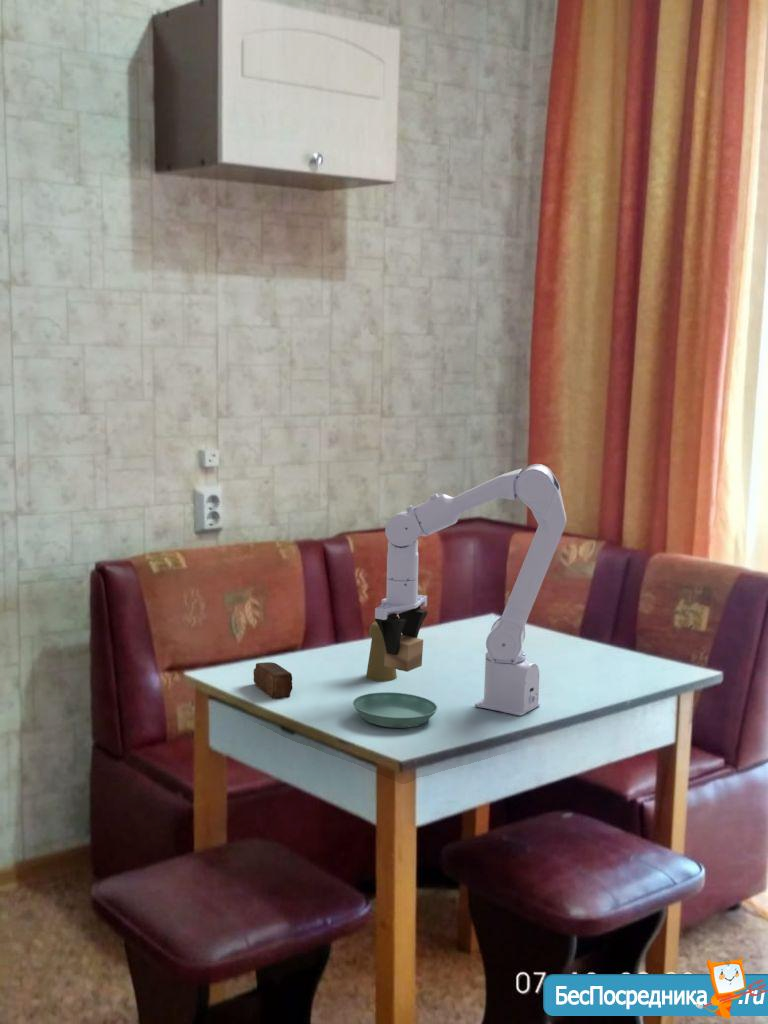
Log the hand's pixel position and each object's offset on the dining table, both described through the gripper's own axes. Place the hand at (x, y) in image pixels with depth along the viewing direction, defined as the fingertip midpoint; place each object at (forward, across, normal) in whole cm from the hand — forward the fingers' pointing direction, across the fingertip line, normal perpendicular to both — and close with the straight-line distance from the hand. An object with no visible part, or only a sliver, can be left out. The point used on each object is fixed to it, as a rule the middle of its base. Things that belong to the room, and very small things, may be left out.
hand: (400, 650), depth 217 cm
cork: (+9, -9, -10) cm, 17 cm away
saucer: (+9, +11, +6) cm, 15 cm away
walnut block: (+3, 0, 0) cm, 3 cm away
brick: (+9, +11, -21) cm, 26 cm away
